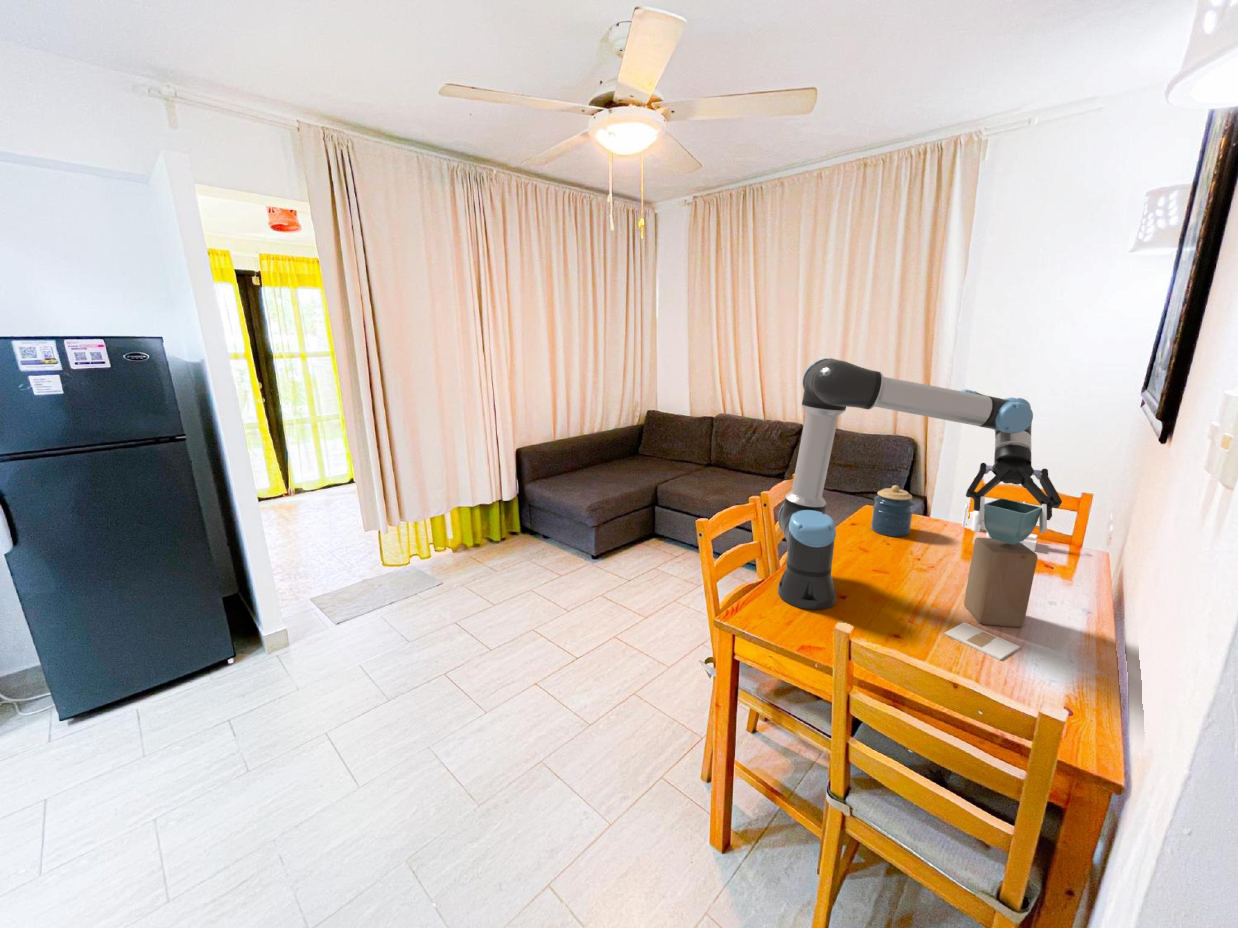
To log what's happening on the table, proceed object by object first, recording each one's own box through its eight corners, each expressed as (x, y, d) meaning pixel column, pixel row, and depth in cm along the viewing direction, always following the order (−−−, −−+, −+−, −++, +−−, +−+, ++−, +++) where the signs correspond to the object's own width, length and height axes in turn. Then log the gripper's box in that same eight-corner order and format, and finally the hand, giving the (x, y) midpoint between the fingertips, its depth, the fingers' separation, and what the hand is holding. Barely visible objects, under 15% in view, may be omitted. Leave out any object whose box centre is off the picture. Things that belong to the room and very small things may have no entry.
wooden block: (1024, 629, 124) (1040, 554, 120) (979, 625, 126) (993, 551, 122) (1003, 608, 134) (1017, 538, 129) (961, 605, 136) (973, 535, 131)
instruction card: (944, 634, 123) (944, 632, 123) (963, 623, 127) (964, 621, 127) (1000, 660, 113) (1000, 658, 113) (1019, 647, 117) (1020, 645, 117)
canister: (879, 522, 197) (885, 478, 192) (915, 531, 187) (922, 485, 183) (864, 530, 189) (869, 485, 184) (901, 540, 179) (907, 492, 175)
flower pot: (977, 537, 126) (983, 503, 124) (995, 530, 130) (1001, 497, 128) (1018, 550, 119) (1025, 514, 116) (1035, 542, 123) (1043, 507, 121)
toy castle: (1032, 553, 168) (1041, 507, 164) (954, 529, 189) (960, 487, 185) (1053, 544, 175) (1062, 500, 171) (975, 522, 196) (982, 482, 192)
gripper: (1067, 464, 128) (1070, 542, 119) (955, 454, 139) (950, 524, 130) (1077, 447, 122) (1081, 528, 113) (960, 439, 134) (955, 511, 124)
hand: (1011, 526), depth 122 cm, fingers closed on flower pot, 11 cm apart
